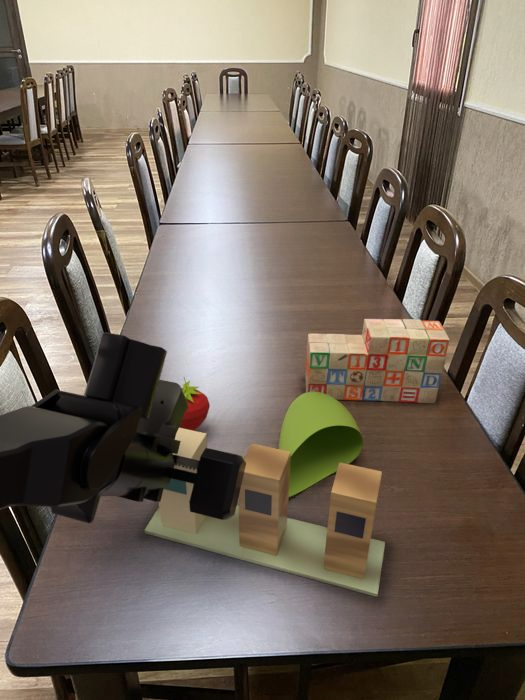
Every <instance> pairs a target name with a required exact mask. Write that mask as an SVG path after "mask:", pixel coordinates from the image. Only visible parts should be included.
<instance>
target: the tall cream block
mask: <svg viewBox="0 0 525 700" xmlns="http://www.w3.org/2000/svg"><path fill="white" fill-rule="evenodd" d="M175 440H178V441H181V442H180V446H179V450H178V453H177V454H174V453H173V455H178V456H182V457H186V458H191V459H195V460H199V461H200V457H201V455H202V453H203V451H204V450H205V448H208V436H207V432H201V431H197V430H195V431H192V430H188V429H183V428H179V429H178V431H177V433H176V437H175ZM174 468H177V469H181V470H185V471H189V472H193V473H197V470H196V469H195V470H193V467H192V469H189V467H188V468H185V467H182V465H181V466H180V467H179V466H178V464H177V466H175V465H174ZM193 485H194V484H192V483H188V482H184V481H180V480H176V479H171V481H170V482H169V484H168V485H167V487H166V488H164V490H163V494H162V498H161V501H160V502H158V508H159V507H160V515H161V523H162V525H163V526H166V527H170V528H174V529H178V530H181V531H185V532H189V533H193V534H197V532H198V530H199V528H200V526H201V525H202V523H203V521H204V519H205V517H206V516H205V515H201V514H197V513H193V512H190V504H189V501H190V497H191V493H192V489H193Z"/></svg>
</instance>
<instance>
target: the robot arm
mask: <svg viewBox="0 0 525 700" xmlns="http://www.w3.org/2000/svg"><path fill="white" fill-rule="evenodd" d="M167 353H168V350H166V349H165V348H163V346H162V347H161V346H157V345H152V344H148V343H146V342H143V341H139V340H135V339H132V338H130V337H128V336H126V335H124V334H118V333H112V332H106V331H104V332H103V333H102V334H101V337H100V340H99V344H98V347H97V351H96V354H95V357H94V360H93V363H92V367H91V371H90V373H89V377H88V381H87V384H86V387H85V391H84V392H83V393H84V394H78V393H73V392H68V391H63V390H59V389H54V390H53V391H51V392H50V393H48V394H46V395H45V396H43V397H42V398H41V399H39V400H38V401H35V402H34V404H32V405H27V406H22V407H20V408H17V409H14V410H11V411H8V412H6V413H2V414H0V511H1V510H4V509H7V508H11V507H13V508H14V507H21V506H24V507H46V508H47V507H49V508H50V509H51V510H50V511H51V513H52V514H53V515H56V516H60V517H63V518H68V519H71V520H75V521H79V522H82V523H87V524H92V523H93V522H94V521H95V518H96V515H97V510H98V508H99V503H100V499H101V497H118V498H122V499H125V500H129V501H133V502H137V503H142V502H143V503H144V500H149V501H152V502H156V503H159V502H160V501H161V498H162V494H163V490H164V488H166V487H167V485H168V484H169V482H170V481H171V479H176V480H180V481H184V482H188V483H192V484H194V485H193V489H192V493H191V497H190V501H189V504H190V512H193V513H197V514H201V515H205V516H209V517H213V518H217V519H221V520H227V519H229V518H231V517H232V516H234V515H235V511H236V506H237V505H238V503H239V493H240V489H241V484H242V480H243V475H244V471H245V467H246V462H245V460H244V458H245V457H243V455H239V454H236V453H232V452H226V451H223V450H218V449H213V448H209V447H207V448H205V450H204V451H203V453H202V455H201V457H200V461H199V460H195V459H191V458H186V457H182V456H178V455H173V453H174V454H177V453H178V450H179V446H180V442H181V441H178V440H175V437H176V433H177V431H178V429H179V426H180V424H181V421H182V419H183V416H184V414H185V412H186V411H187V409H188V402H187V399H186V397H185V395H184V393H183V391H182V389H181V388H182V387H181V385H180V384H179V383H178V382H173V381H169V380H163V379H161V376H162V372H163V369H164V365H165V362H166V358H167ZM177 464H178V466H179V467H180V466H181V465H182V467H185V468H188V467H189V469H192V467H193V470H195V469H196V470H197V473H193V472H189V471H185V470H181V469H177V468H174V465H175V466H177Z"/></svg>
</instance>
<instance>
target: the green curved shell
mask: <svg viewBox="0 0 525 700" xmlns="http://www.w3.org/2000/svg"><path fill="white" fill-rule="evenodd" d="M278 441H279V442H278V449H280V450H285V451H289V452H291V456H290V477H289V498H290V497H292V496H295V495H297V494H299V493H301V492H302V491H305V490H306V489H308V488H309V487H312V486H313V485H315V484H316V483H318V482H320V481H321V480H323V479H325V478H327V477H329V476H330V475H332V474H334V473H336V472H337V469H338V465H339V462H340V463H345V464H350V463H352V462H353V461H354V460H355V459H356V458H357V457H358V456H359V455H360V454H361V452H362V450H363V448H364V447H363V446H364V438H363V435H362V433H361V431H360V428H359V427H358V424H357V422H356V420H355V418H354V416H353V415H352V414H351V412H350V411H349V410H348V408H346V406H345V405H343V404H342V403H341V402H340V401H339V400H336V399H334V398H333V397H331V396H329V395H327V394H324V393H320V392H307V393H306V392H304V393H302V394H300V395H298V396H297V397H296V398H295V399H294V400H293V401H292V402H291V404H290V406H289V407H288V408H287V411H286V412H285V415H284V418H283V421H282V425H281V429H280V433H279V439H278Z"/></svg>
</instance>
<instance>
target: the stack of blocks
mask: <svg viewBox="0 0 525 700" xmlns="http://www.w3.org/2000/svg"><path fill="white" fill-rule="evenodd" d="M306 344H307V345H306V357H305V376H304V377H305V393H307V392H320V393H324V394H327V395H329V396H331V397H333V398H334V399H336V400H337V401H339V400H340V401H360V402H361V401H367V402H368V401H370V402H371V401H373V402H380V401H381V402H400V403H415V404H416V403H419V404H436V401H437V398H438V394H439V387H440V384H441V379H442V376H443V372H444V369H445V365H446V361H447V352H448V348H449V345H450V337H449V336H448V334H447V331H446V330H445V328H444V327H443V325H442V323H441V321H439V320H421V319H414V318H413V319H412V318H402V319H400V318H399V319H397V318H396V319H395V318H394V319H393V318H389V319H388V318H384V319H383V318H364V320H363V327H362V333H361V334H344V333H308V334H307V342H306Z"/></svg>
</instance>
